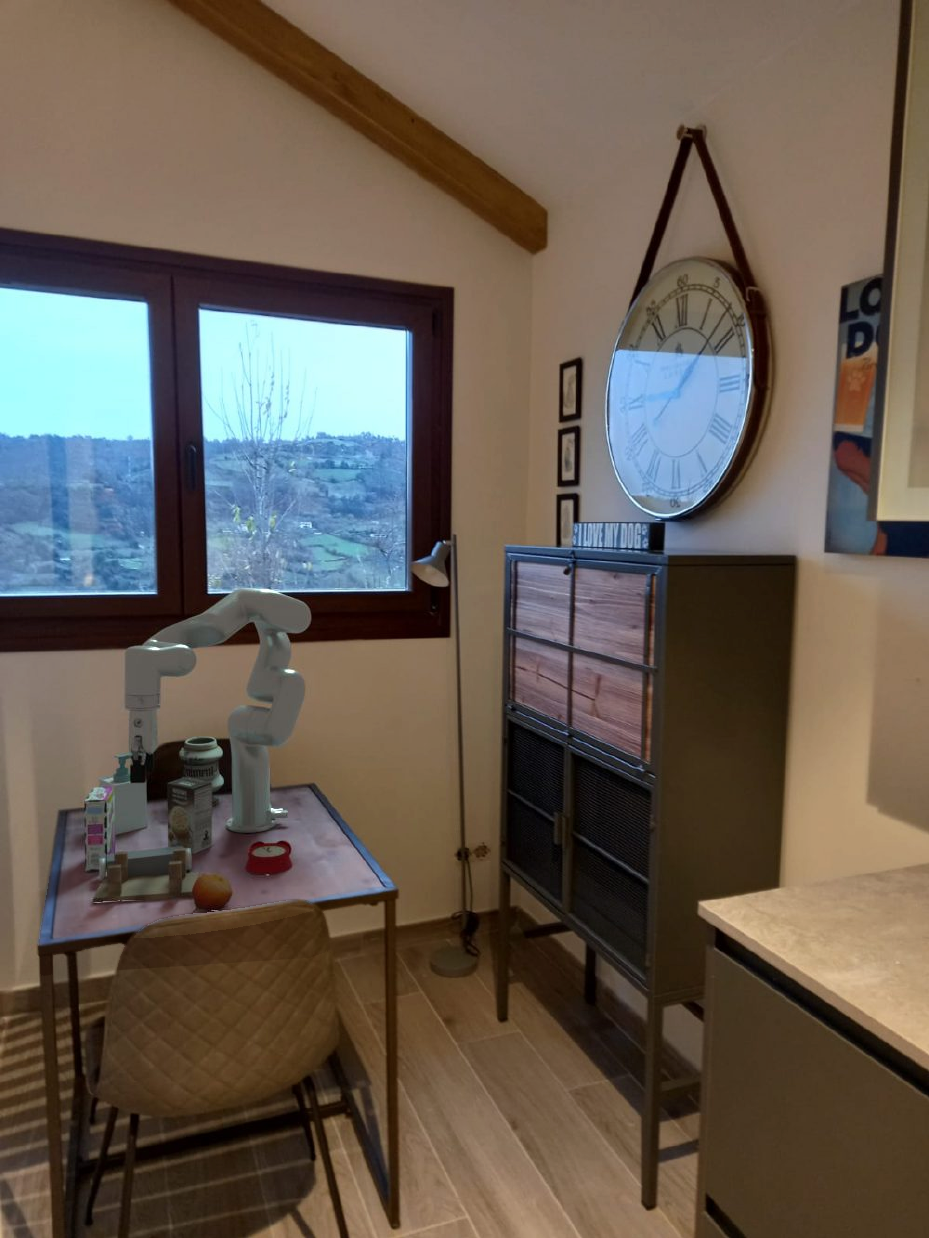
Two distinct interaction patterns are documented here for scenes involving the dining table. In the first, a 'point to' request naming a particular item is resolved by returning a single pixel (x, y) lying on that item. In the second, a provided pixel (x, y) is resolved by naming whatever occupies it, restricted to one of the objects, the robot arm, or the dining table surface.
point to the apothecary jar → (202, 761)
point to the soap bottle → (127, 798)
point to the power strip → (146, 862)
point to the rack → (146, 881)
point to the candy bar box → (99, 826)
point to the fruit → (211, 892)
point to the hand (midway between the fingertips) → (142, 776)
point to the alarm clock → (269, 857)
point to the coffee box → (189, 814)
